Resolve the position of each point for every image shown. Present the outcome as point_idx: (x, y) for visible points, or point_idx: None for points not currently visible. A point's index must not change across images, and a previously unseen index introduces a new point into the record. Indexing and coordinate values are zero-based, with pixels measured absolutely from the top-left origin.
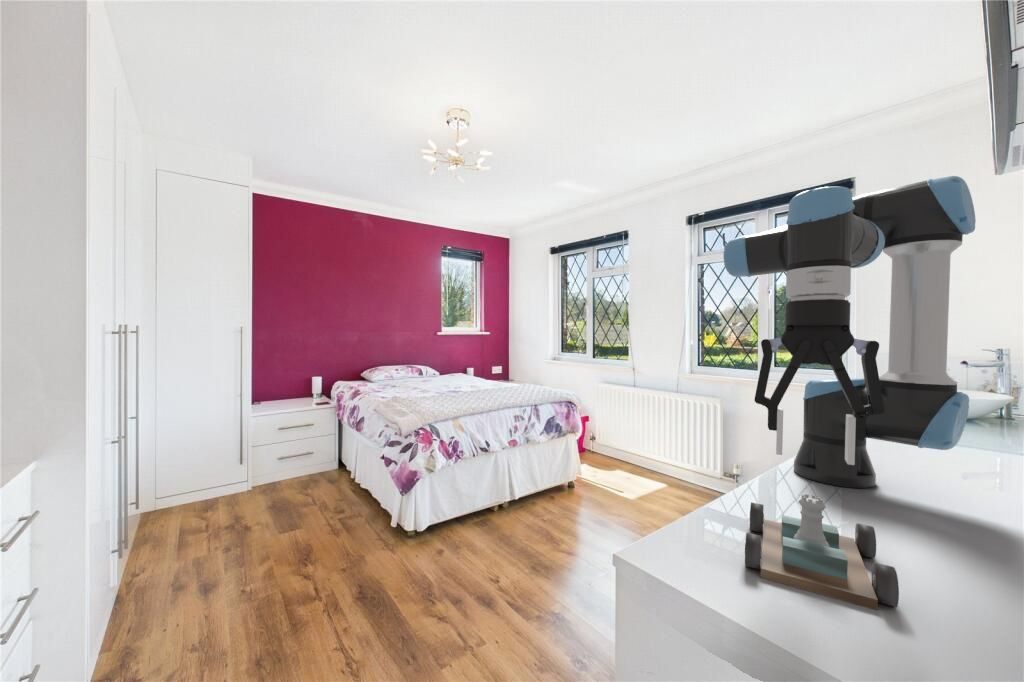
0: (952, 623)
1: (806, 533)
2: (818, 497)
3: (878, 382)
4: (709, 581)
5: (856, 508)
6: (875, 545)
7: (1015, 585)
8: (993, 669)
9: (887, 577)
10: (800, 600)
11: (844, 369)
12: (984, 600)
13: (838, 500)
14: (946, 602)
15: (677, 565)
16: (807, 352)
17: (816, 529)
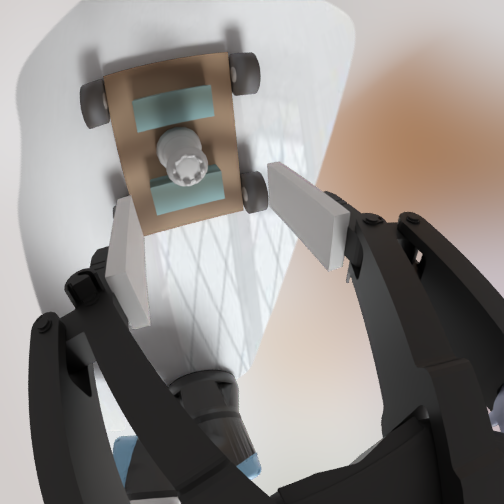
0: (48, 115)
1: (186, 139)
2: (179, 179)
3: (34, 432)
4: (273, 12)
5: (164, 337)
6: (113, 210)
7: (26, 260)
8: (30, 59)
9: (89, 89)
10: (179, 33)
11: (180, 485)
12: (32, 200)
13: (183, 343)
14: (53, 161)
15: (309, 27)
16: (433, 484)
17: (174, 145)
